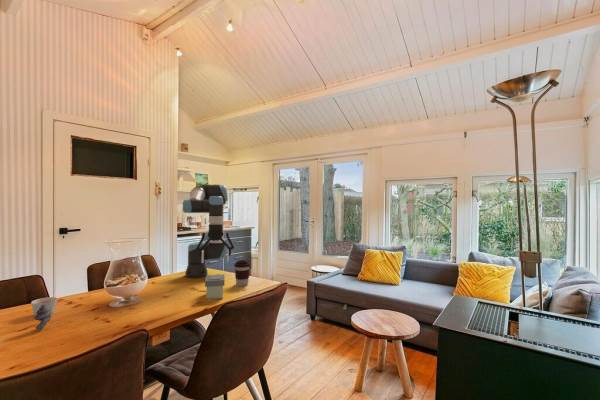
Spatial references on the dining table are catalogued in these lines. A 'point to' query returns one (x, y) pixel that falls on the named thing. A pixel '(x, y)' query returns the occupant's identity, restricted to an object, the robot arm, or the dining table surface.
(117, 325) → the dining table surface
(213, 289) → the box
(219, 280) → the lid
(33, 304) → the grey bowl
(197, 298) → the dining table surface
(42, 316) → the seashell
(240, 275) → the coffee cup
